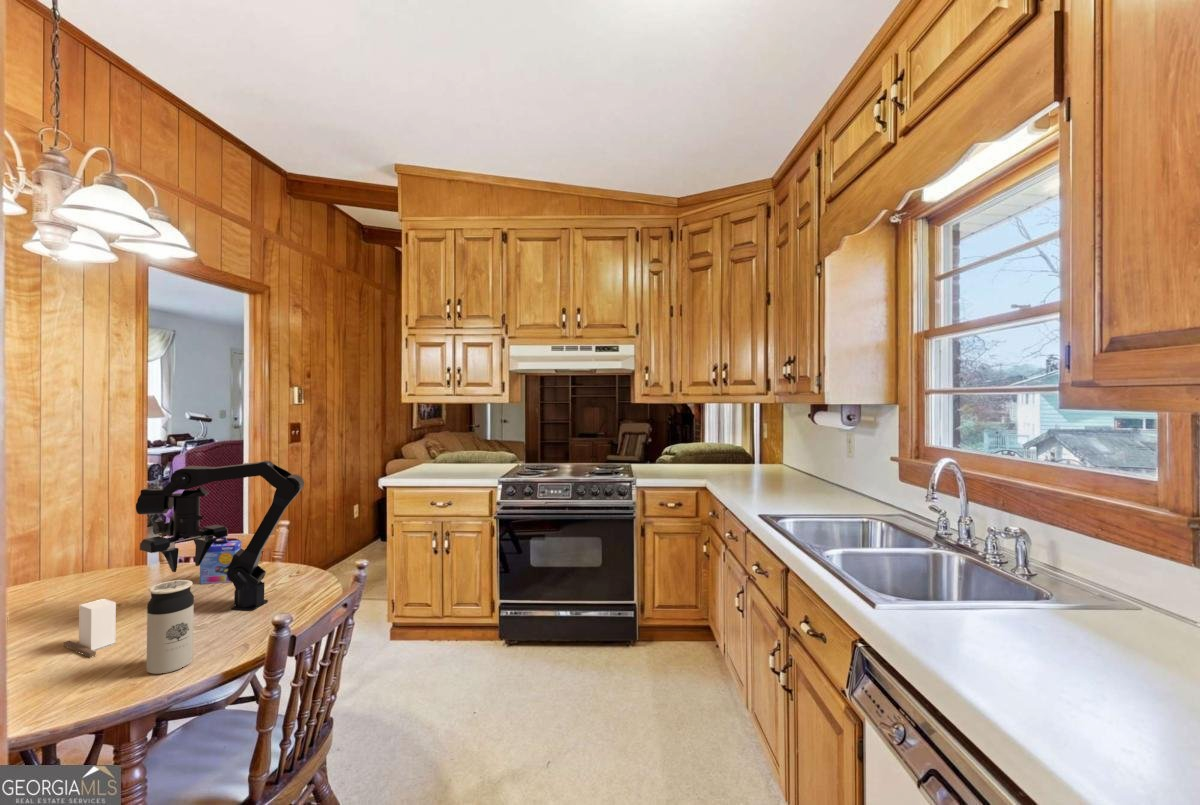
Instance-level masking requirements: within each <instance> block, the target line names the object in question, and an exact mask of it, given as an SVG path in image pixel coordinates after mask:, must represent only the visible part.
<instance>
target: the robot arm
mask: <svg viewBox="0 0 1200 805" xmlns="http://www.w3.org/2000/svg"><path fill="white" fill-rule="evenodd" d="M259 476H260V477H261V478H263V479H264V480H265V481H266V482H267V483H268V484H269V485H270V486H272V487H273V488H275V491H274V494H273V498H272V503H271V505H270V507H269V508H268V510H267V511H266V514H265V515H264V517H263V519H262V521H261V522H260V524H259V525H258V528H256V531H255V532H254V534H253V536H252V537H251V540H250V541H249V543H248V544H247V546H246V548H245V549H243V548H241V549H240V550H239V551H238V552H236V553H235V554H234V556H233V558H232V561H231V563H230V564H229V565H228V566H227V567H226V568H229V569H228V571H227V577H228V579H229V580H230V581H231V582H230V583H232V584H233V586H234V588H235V590H234V596H233V597H234V602H233V604H234V605H233V606H231V607H230V609H231V610H237V611H238V610H240V611H254V610H255V609H257V608H259V607H261V606H263V605H265V604H266V603H268V601H269V599H265V582H263V581H262V580H263V579H264V578H265V575H266V574H267V571H266V570H265V569H264V568H262V567H261V566H259V562H260V560H261V556H262V551H263V549H264V547H265V546H266V544H267V543H268V541H269V539H270V537H271V535H272V534H273V532H274V530H275V528H276V526H277V524H279V521H280V520H281V518H282V516H283V515H284V513H285V511H286V510H287V508H288V507H289V505H290V504H291V503H292V501H293V500H294V499H296V497H297V496H298V495H299V494H300V492H301V491H302V490H303V488H304V487H305V480H304V479H303V477H302V476H301V475H299V474H293V473H291V472H290V471H288V470H286V469H285V468H282V467H280V466H278V465H277V464H275V463H273V462H272V461H271V460H263V461H259V462H258V461H257V462H249V463H239V464H231V465H224V466H208V465H207V466H206V465H188V466H184V467H182V468H179V469H176V470H175V471H174V472H173V473H171V476H170V481H169V482H168V483H167V484H166V486H164V487H163V488H143V489H141V490H140V494H139V496H138V498H137V500H136V501H137V502H136V503H135V511H136V513H137V514H138V515H140V516H141V515H158V514H159V515H160V514H161V515H162V514H163V515H164V514H167V513H168V512H169V511H170V510H172V509H173V513H172V514H173V516H170V517H169V522H165V520H161V521H155V522H153V523H152V532H153V535H157V536H153V537H149V538H143V539H142V540H141V542H140V543H139V550H140V551H142V552H147V553H150V554H153V553H154V554H155V553H161V554H162V555H163V557H164V558H165V559H166V562H167V563H168V566H169V568H170V570H171V572H172V573H176V572H177V568H178V562H179V561H178V560H179V559H178V558H179V548H178V547H176V544H181V543H184V542H188V541H193V542H194V545H195V550H194V551H195V552H194V553H195V557H194V561H195V566H196V567H200V563H201V562H202V560H203V558H204V556H205V554H206V553H207V551H208V549H209V548H210V546H211V545H212V544H213V542H216V541H217V540H216V539H213V538H221V537H226V538H227V537H228V535H229V530H228V527H227V526H225V525H221V524H212V525H211V524H210V525H206V526H203V527H202V528H201V529H200V524H201V523H200V521H202V520H203V518H204V517H203V515H202V514H201V509H200V508H201V497H205V496H207V495H209V494H210V491H209V490H207V489H205V488H204V487H203V486H202V485H207V484H209V483H213V482H220V481H228V480H235V479H245V478H252V477H259ZM196 487H198V488H197V489H192V488H196ZM181 490H182V492H180V493H179V492H178V491H181ZM176 492H178V493H176ZM160 534H161V536H160ZM171 536H172V537H171Z"/></svg>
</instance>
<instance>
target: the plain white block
mask: <svg viewBox="0 0 1200 805" xmlns="http://www.w3.org/2000/svg"><path fill="white" fill-rule="evenodd" d="M78 606H79V607H78V613H79V614H78V644H79V645H81V646H84V647H86V648H88V649H91V650H96V651H98V650H97V649H99V648H102V647H105V648H107V647H110V646H112V645H111V644H113V645H115V644H116V629H117V628H116V622H117V621H116V620H117V616H116V613H117V609H116V608H117V607H116V606H117V602H116V601H113V600H110V599H107V598H105V597H104V598H101V599H97V600H93V601H90V602H89V601H88V602H85V603H82V604H79V605H78ZM114 643H115V644H114ZM109 645H110V646H109ZM106 646H107V647H106ZM102 649H103V648H102ZM99 650H100V649H99Z"/></svg>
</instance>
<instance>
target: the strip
mask: <svg viewBox="0 0 1200 805" xmlns="http://www.w3.org/2000/svg"><path fill="white" fill-rule="evenodd" d="M64 646H66V647H68V648H70V649H69V650H71V649H73V650H75V651H77V652H76V653H78V652H80V653H83V654H84V655H86V656H85V657H87V656H89V657H92V656H94V657H96V656H97V651H93V650H91V649H88V648H86V647H84V646H81V645H79V643H77V642H75V641H72V640H66V641H63V647H64ZM66 647H65V648H66ZM68 648H67V649H68ZM73 650H72V651H73ZM75 651H74V652H75ZM80 653H79V654H80ZM84 655H83V656H84ZM95 655H96V656H95ZM89 657H88V658H89ZM92 658H93V657H92Z"/></svg>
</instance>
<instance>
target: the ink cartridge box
mask: <svg viewBox="0 0 1200 805" xmlns="http://www.w3.org/2000/svg"><path fill="white" fill-rule="evenodd" d="M213 539H216V542H213V544H212V545H211V546H210V548H209V549H208V551H207V553H206V554H205V556H204V558H203V560H202V562H201V563H200V565H199V584H200V585H206V584H207V585H208V584H224V583H232V582H231V581H230V580H229V579H228V577H227V571H228V569H229V568H226V567H227V566H228V565H229V564H230V563H231V561H232V558H233V556H234V554H235V553H236V552H238V551H239V550H240V549H242V540H228V539H227V536H226V537H221V538H216V537H213Z"/></svg>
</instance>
